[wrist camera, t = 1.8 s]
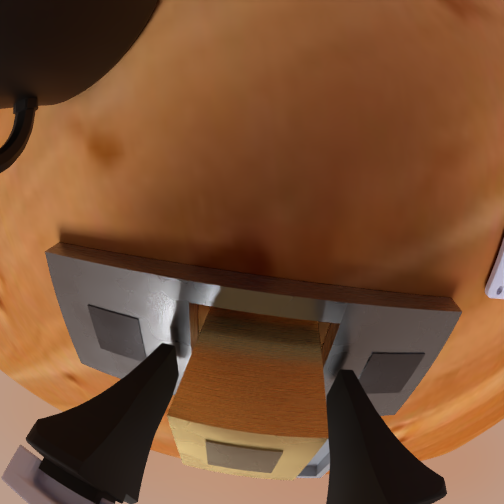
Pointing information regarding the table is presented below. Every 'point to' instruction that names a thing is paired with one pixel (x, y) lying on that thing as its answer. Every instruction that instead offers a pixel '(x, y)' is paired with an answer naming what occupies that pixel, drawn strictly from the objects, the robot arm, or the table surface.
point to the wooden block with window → (252, 396)
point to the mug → (59, 53)
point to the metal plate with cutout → (247, 300)
